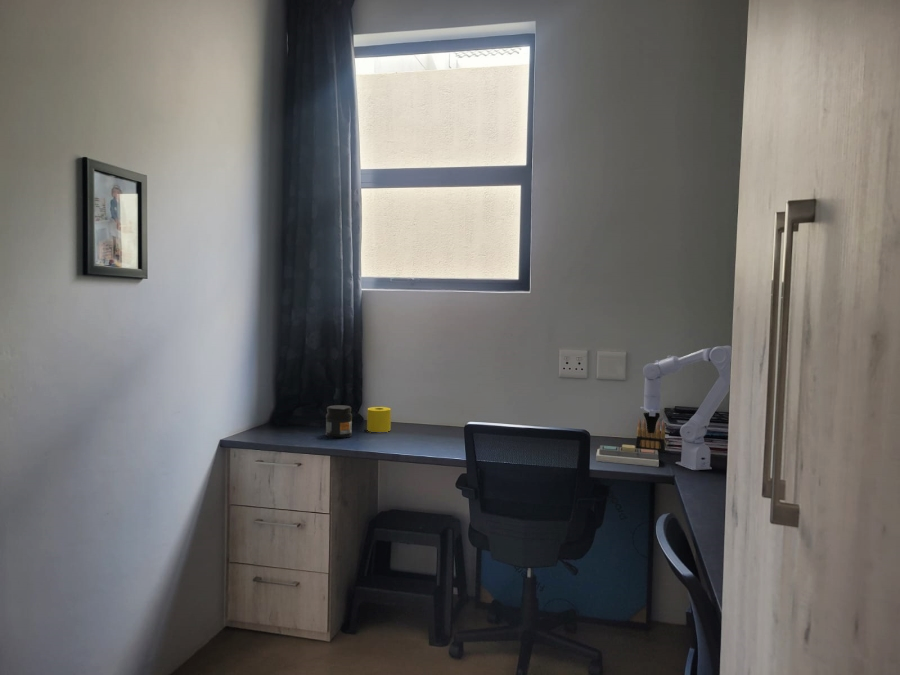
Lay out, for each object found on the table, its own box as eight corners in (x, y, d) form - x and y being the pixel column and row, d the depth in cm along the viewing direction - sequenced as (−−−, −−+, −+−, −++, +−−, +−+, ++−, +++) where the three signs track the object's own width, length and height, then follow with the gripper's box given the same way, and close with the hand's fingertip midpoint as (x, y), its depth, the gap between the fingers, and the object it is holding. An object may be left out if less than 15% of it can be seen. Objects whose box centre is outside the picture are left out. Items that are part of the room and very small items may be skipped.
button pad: (657, 459, 223) (657, 449, 223) (658, 466, 212) (659, 455, 212) (597, 454, 229) (597, 444, 229) (595, 461, 218) (596, 450, 218)
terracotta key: (653, 454, 220) (653, 449, 220) (653, 457, 216) (654, 452, 216) (640, 453, 221) (640, 448, 221) (640, 456, 217) (641, 451, 217)
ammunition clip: (635, 449, 239) (636, 418, 238) (636, 448, 240) (637, 418, 240) (664, 452, 234) (665, 421, 234) (665, 451, 236) (666, 420, 235)
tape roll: (392, 432, 258) (392, 410, 258) (368, 433, 256) (368, 411, 256) (388, 428, 268) (389, 406, 268) (366, 428, 266) (366, 407, 265)
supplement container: (356, 436, 249) (357, 407, 248) (334, 440, 242) (334, 410, 241) (342, 432, 257) (343, 404, 256) (320, 435, 250) (321, 406, 249)
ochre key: (634, 450, 222) (634, 445, 222) (634, 453, 218) (635, 448, 217) (622, 449, 223) (622, 444, 223) (622, 452, 219) (622, 447, 219)
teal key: (616, 451, 224) (616, 446, 224) (615, 454, 219) (616, 449, 219) (603, 450, 225) (603, 445, 225) (603, 453, 221) (603, 448, 221)
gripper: (640, 392, 231) (639, 428, 232) (641, 397, 217) (639, 435, 218) (660, 393, 229) (658, 429, 230) (662, 399, 215) (660, 437, 216)
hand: (650, 432), depth 224 cm, fingers closed
